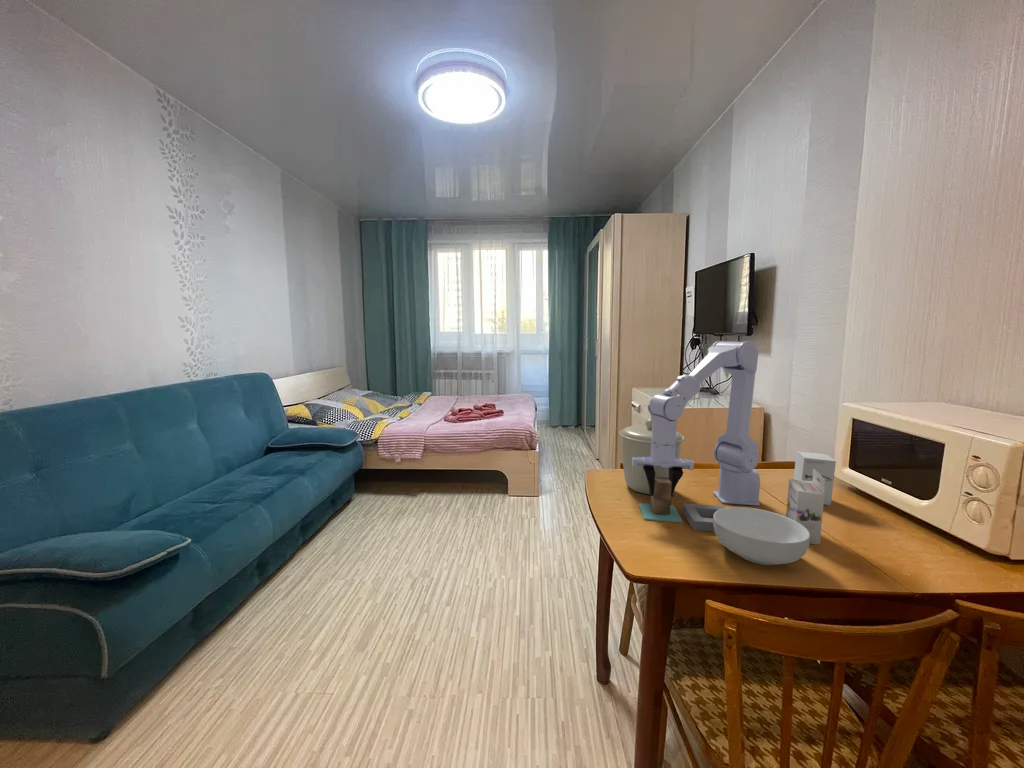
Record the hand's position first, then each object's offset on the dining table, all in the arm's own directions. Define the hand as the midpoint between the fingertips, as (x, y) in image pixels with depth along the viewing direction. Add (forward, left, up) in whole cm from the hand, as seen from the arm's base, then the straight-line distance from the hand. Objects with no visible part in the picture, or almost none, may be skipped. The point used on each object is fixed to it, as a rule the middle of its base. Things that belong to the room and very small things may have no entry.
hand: (660, 494), depth 102 cm
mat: (0, 0, -5) cm, 5 cm away
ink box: (-30, +6, -5) cm, 31 cm away
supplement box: (-44, -17, -5) cm, 47 cm away
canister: (0, -17, -5) cm, 18 cm away
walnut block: (0, 0, -4) cm, 4 cm away
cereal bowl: (-16, +17, -5) cm, 24 cm away
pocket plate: (-11, +3, -5) cm, 12 cm away
